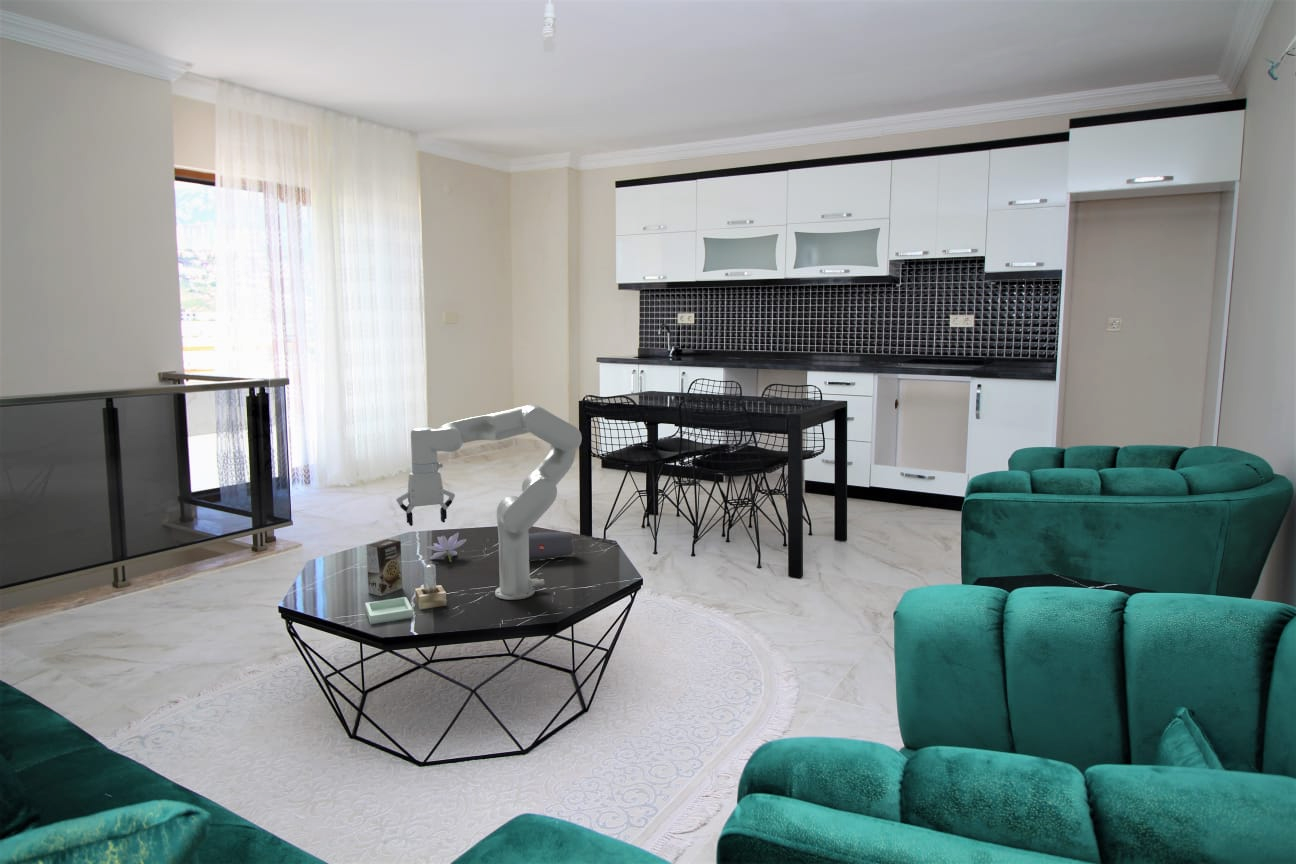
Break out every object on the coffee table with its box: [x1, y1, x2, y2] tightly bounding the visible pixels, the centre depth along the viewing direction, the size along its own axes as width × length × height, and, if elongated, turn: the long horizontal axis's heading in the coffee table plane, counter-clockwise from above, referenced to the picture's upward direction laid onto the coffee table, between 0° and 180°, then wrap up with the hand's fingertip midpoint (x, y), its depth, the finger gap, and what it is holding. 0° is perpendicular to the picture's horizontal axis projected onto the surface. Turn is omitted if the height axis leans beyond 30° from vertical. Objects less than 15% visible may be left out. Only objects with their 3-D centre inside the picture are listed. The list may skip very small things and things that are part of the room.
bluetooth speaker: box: [529, 531, 574, 561], centre depth 290 cm, size 23×9×10 cm, turn 104°
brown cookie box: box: [366, 538, 403, 597], centre depth 255 cm, size 9×6×16 cm
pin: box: [422, 563, 437, 594], centre depth 244 cm, size 4×4×12 cm
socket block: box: [414, 584, 447, 610], centre depth 245 cm, size 8×8×4 cm
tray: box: [364, 596, 414, 625], centre depth 236 cm, size 12×12×2 cm
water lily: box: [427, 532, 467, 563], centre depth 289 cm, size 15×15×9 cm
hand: (426, 523), depth 242 cm, fingers open, 9 cm apart
